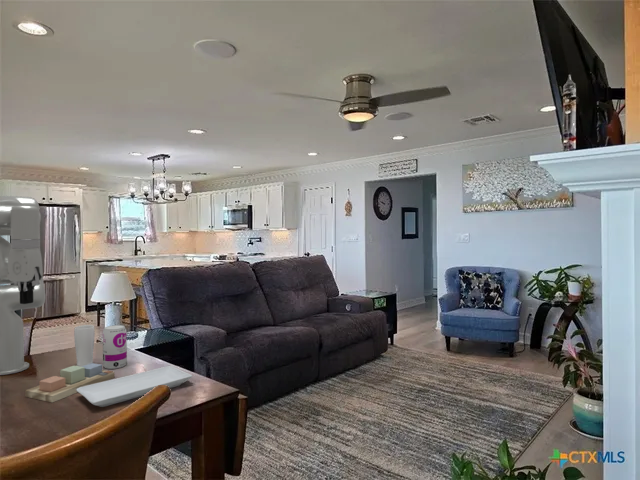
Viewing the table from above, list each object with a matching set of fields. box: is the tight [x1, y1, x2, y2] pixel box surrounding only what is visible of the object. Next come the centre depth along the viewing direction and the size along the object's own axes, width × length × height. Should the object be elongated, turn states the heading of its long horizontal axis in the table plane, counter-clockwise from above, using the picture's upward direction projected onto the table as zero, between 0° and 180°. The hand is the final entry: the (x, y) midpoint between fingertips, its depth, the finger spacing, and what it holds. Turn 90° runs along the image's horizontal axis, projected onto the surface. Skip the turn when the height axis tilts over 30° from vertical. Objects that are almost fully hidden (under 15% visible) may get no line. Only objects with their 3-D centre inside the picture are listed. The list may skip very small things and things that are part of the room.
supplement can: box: [102, 324, 128, 370], centre depth 161 cm, size 8×8×15 cm
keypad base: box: [24, 369, 116, 403], centre depth 140 cm, size 12×23×2 cm, turn 159°
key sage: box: [59, 365, 85, 385], centre depth 140 cm, size 5×5×4 cm
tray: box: [76, 365, 193, 408], centre depth 137 cm, size 17×32×4 cm, turn 136°
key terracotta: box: [38, 375, 66, 393], centre depth 134 cm, size 5×5×4 cm
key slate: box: [82, 362, 103, 378], centre depth 147 cm, size 5×5×4 cm
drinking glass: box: [73, 324, 96, 367], centre depth 161 cm, size 7×7×15 cm
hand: (26, 303), depth 133 cm, fingers closed
